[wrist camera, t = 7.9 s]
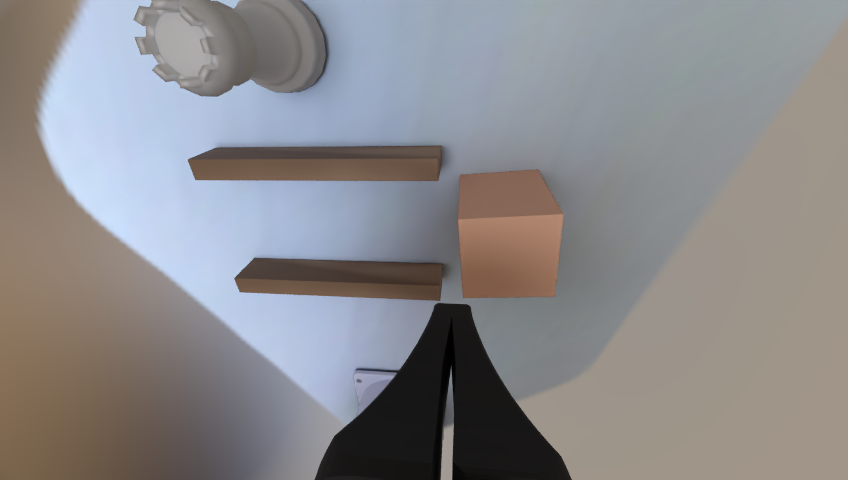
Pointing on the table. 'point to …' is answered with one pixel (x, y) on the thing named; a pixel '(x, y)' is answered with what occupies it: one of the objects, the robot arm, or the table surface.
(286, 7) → the rook chess piece
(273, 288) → the walnut channel
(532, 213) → the terracotta block
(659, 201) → the table surface
